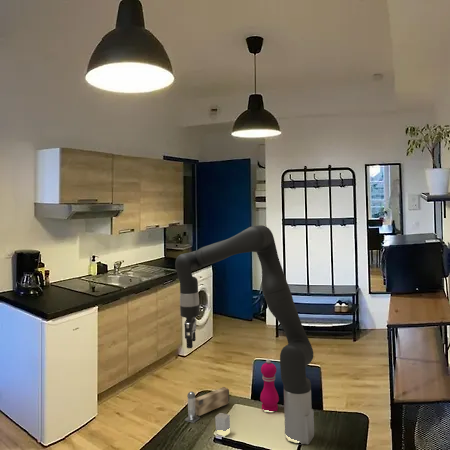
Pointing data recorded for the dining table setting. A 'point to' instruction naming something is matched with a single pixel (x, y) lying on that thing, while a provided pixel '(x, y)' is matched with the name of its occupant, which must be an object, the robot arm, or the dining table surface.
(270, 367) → the pepper mill
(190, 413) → the hinge post
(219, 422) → the grey block
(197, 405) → the gate
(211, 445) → the dining table surface
